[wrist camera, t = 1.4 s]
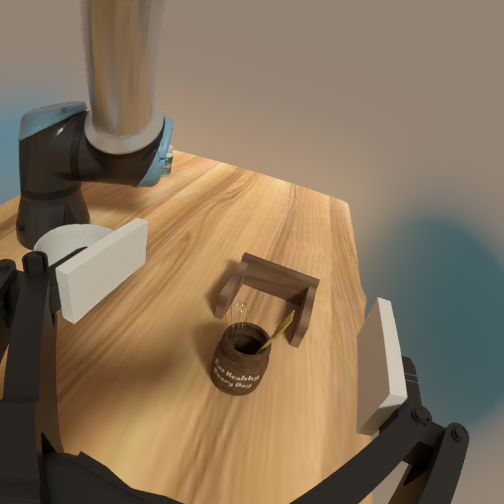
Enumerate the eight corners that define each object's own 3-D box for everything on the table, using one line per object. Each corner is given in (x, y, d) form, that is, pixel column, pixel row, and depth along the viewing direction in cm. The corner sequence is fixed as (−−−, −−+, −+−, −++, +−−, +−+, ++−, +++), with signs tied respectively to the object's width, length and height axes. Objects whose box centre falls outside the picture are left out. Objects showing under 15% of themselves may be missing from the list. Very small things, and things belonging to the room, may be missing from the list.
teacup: (82, 256, 46) (80, 213, 42) (140, 288, 44) (142, 242, 40) (14, 303, 33) (2, 255, 29) (71, 351, 31) (59, 301, 27)
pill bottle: (157, 177, 82) (161, 148, 77) (151, 171, 84) (155, 143, 80) (172, 176, 84) (177, 148, 80) (166, 170, 87) (170, 143, 83)
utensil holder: (218, 351, 38) (238, 276, 32) (266, 368, 37) (298, 296, 31) (202, 386, 33) (219, 311, 26) (255, 405, 32) (289, 336, 26)
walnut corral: (298, 347, 41) (310, 322, 39) (214, 315, 43) (220, 288, 40) (308, 303, 50) (319, 279, 48) (238, 277, 52) (245, 252, 49)
